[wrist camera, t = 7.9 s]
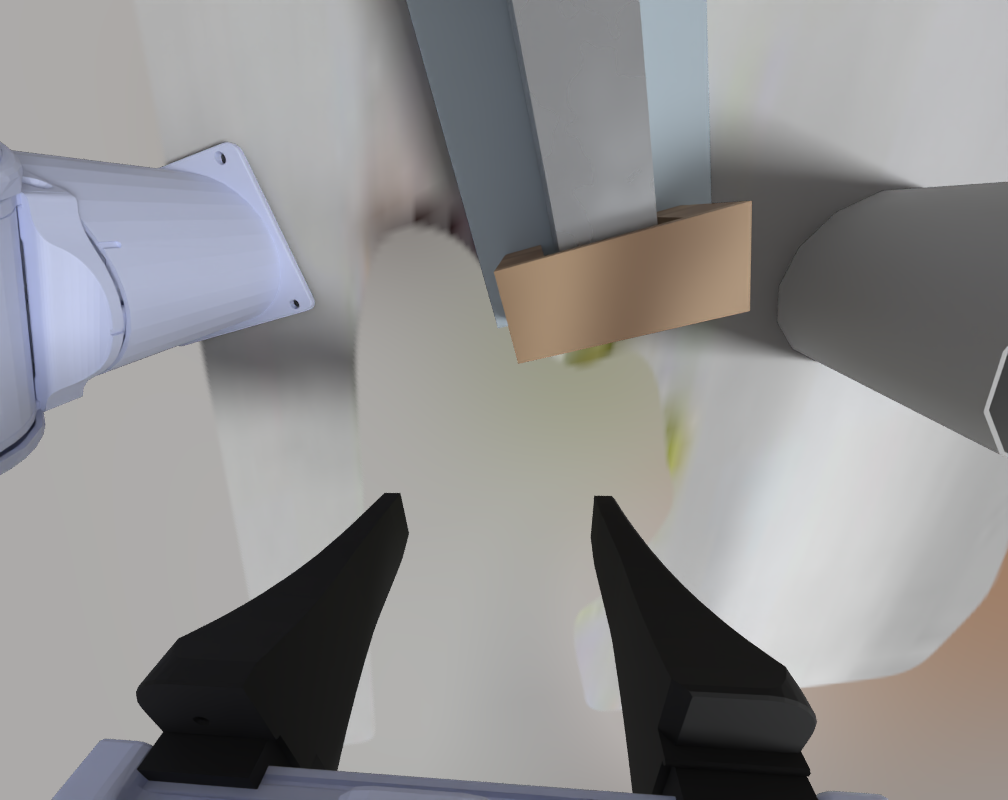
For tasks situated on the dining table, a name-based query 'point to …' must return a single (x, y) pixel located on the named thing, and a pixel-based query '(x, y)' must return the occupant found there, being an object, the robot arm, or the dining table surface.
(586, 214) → the bar
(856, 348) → the cup
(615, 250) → the socket
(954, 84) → the dining table surface
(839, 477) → the dining table surface
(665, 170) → the board
